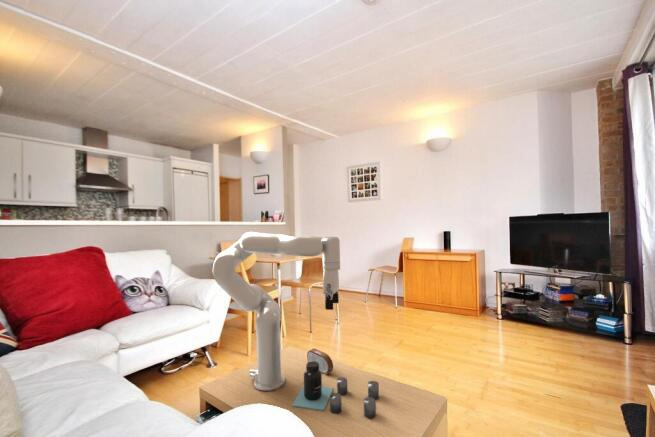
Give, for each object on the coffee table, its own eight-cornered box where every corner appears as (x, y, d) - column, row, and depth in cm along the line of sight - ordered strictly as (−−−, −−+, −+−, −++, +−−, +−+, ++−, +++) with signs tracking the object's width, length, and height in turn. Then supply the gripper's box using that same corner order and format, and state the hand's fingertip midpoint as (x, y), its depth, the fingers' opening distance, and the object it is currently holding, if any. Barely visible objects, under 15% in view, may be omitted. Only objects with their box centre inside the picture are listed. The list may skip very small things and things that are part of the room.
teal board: (291, 406, 111) (291, 405, 111) (304, 385, 124) (304, 384, 124) (323, 411, 107) (323, 409, 107) (333, 389, 121) (333, 388, 121)
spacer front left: (329, 413, 106) (328, 398, 106) (331, 406, 110) (331, 392, 110) (340, 414, 105) (340, 400, 106) (342, 407, 109) (342, 393, 109)
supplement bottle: (319, 402, 112) (319, 369, 112) (301, 400, 113) (301, 367, 113) (323, 391, 119) (323, 360, 119) (306, 389, 120) (306, 359, 120)
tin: (333, 375, 132) (333, 355, 132) (328, 377, 130) (328, 358, 130) (311, 363, 143) (310, 345, 143) (306, 365, 141) (305, 347, 141)
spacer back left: (336, 395, 117) (335, 382, 117) (338, 389, 121) (338, 376, 121) (346, 396, 116) (346, 383, 116) (348, 390, 120) (348, 378, 120)
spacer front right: (363, 418, 103) (363, 403, 103) (365, 410, 107) (364, 396, 107) (375, 419, 102) (375, 404, 102) (376, 412, 106) (376, 398, 106)
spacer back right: (367, 399, 114) (367, 385, 114) (368, 393, 118) (368, 380, 118) (378, 400, 113) (378, 387, 113) (379, 394, 117) (379, 381, 117)
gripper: (328, 262, 139) (328, 300, 139) (316, 269, 123) (317, 311, 123) (344, 263, 138) (345, 301, 138) (335, 269, 121) (336, 312, 121)
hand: (332, 306), depth 130 cm, fingers open, 9 cm apart
